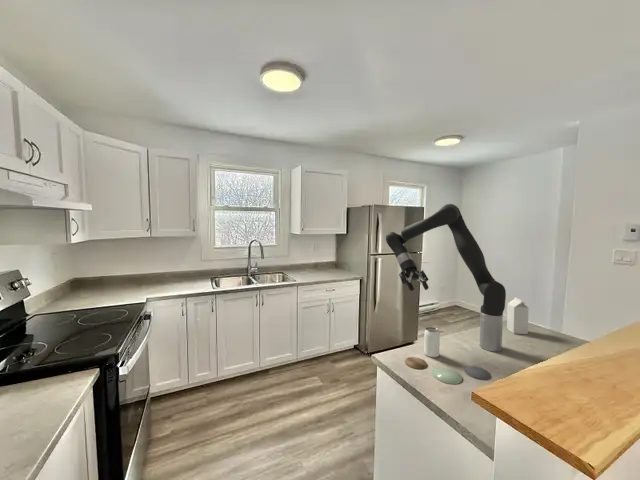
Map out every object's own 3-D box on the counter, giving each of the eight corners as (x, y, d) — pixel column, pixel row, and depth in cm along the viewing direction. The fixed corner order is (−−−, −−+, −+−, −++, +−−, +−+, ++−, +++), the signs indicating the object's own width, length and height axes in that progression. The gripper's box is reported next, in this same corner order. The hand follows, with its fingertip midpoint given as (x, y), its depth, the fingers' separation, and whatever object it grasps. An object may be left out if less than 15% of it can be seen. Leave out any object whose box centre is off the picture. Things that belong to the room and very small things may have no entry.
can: (440, 358, 122) (441, 332, 122) (425, 357, 123) (426, 331, 123) (437, 352, 129) (437, 327, 128) (423, 350, 130) (423, 326, 129)
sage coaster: (441, 366, 116) (441, 364, 116) (467, 378, 107) (467, 376, 107) (425, 374, 110) (426, 372, 110) (451, 388, 101) (451, 385, 101)
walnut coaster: (413, 357, 124) (413, 355, 124) (431, 365, 117) (431, 363, 117) (400, 363, 119) (400, 360, 119) (418, 372, 112) (418, 369, 112)
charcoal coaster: (471, 366, 116) (471, 363, 116) (494, 375, 109) (494, 373, 109) (460, 372, 111) (460, 370, 111) (483, 383, 104) (483, 380, 104)
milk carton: (513, 334, 149) (514, 300, 148) (506, 329, 156) (507, 296, 155) (527, 334, 148) (528, 300, 147) (520, 329, 155) (521, 297, 154)
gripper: (398, 259, 138) (411, 286, 128) (421, 258, 143) (435, 284, 133) (391, 267, 143) (404, 294, 133) (414, 266, 148) (427, 292, 138)
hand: (420, 289), depth 133 cm, fingers open, 8 cm apart
